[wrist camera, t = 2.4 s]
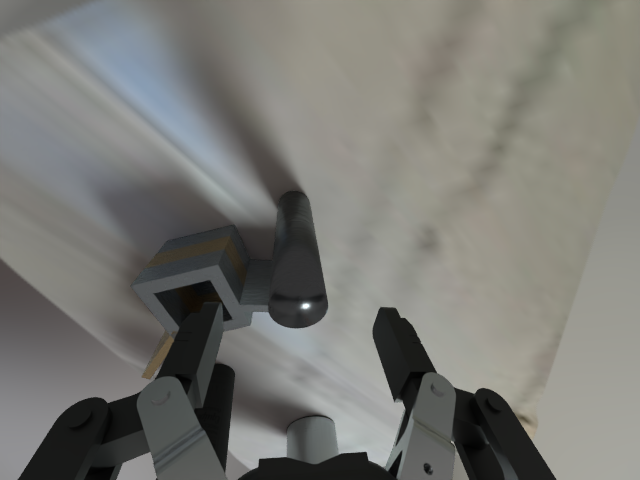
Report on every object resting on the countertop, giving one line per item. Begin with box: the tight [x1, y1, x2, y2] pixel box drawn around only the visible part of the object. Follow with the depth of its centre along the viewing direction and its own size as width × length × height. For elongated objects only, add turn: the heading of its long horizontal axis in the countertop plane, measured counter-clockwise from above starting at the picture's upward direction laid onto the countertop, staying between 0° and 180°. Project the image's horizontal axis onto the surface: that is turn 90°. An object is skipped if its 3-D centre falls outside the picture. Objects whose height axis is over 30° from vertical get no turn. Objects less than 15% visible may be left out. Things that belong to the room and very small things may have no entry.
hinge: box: [131, 225, 328, 379], centre depth 26 cm, size 11×20×7 cm, turn 102°
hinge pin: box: [268, 191, 328, 328], centre depth 20 cm, size 3×3×14 cm
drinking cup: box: [156, 364, 235, 480], centre depth 29 cm, size 8×8×20 cm
